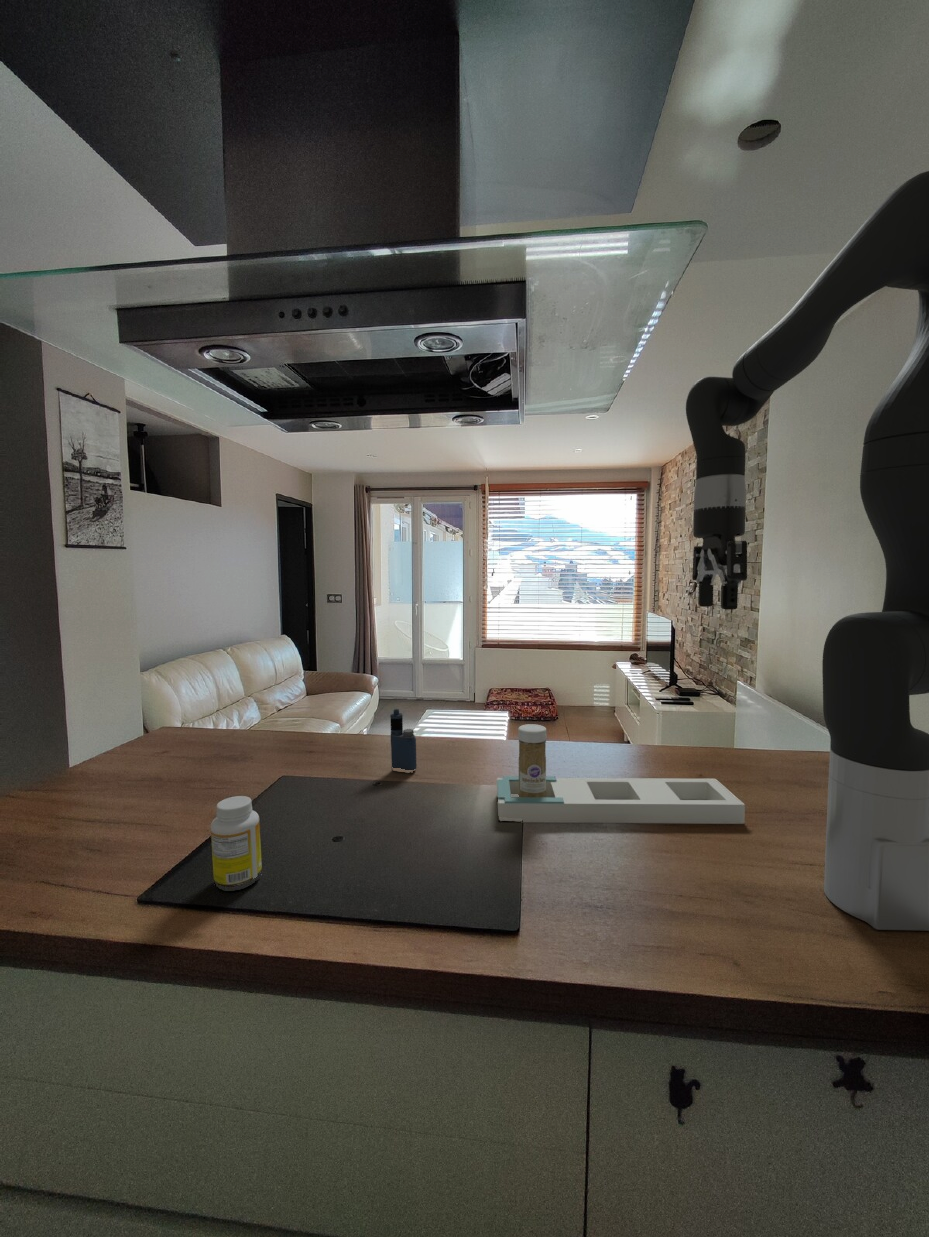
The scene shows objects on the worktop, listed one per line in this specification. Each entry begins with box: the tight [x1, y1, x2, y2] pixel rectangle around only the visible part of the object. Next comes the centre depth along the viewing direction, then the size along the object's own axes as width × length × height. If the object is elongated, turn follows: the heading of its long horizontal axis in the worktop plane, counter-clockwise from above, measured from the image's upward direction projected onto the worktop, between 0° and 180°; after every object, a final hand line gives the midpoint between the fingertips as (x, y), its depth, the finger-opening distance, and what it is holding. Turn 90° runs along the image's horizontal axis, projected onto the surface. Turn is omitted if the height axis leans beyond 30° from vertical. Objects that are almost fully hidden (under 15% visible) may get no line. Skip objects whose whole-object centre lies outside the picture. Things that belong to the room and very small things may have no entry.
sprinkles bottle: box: [517, 723, 548, 797], centre depth 83 cm, size 5×5×14 cm
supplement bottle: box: [210, 795, 263, 887], centre depth 64 cm, size 6×6×10 cm
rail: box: [496, 775, 746, 825], centre depth 83 cm, size 10×37×3 cm, turn 88°
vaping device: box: [389, 708, 418, 770], centre depth 100 cm, size 3×5×12 cm, turn 67°
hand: (716, 607), depth 84 cm, fingers open, 8 cm apart
